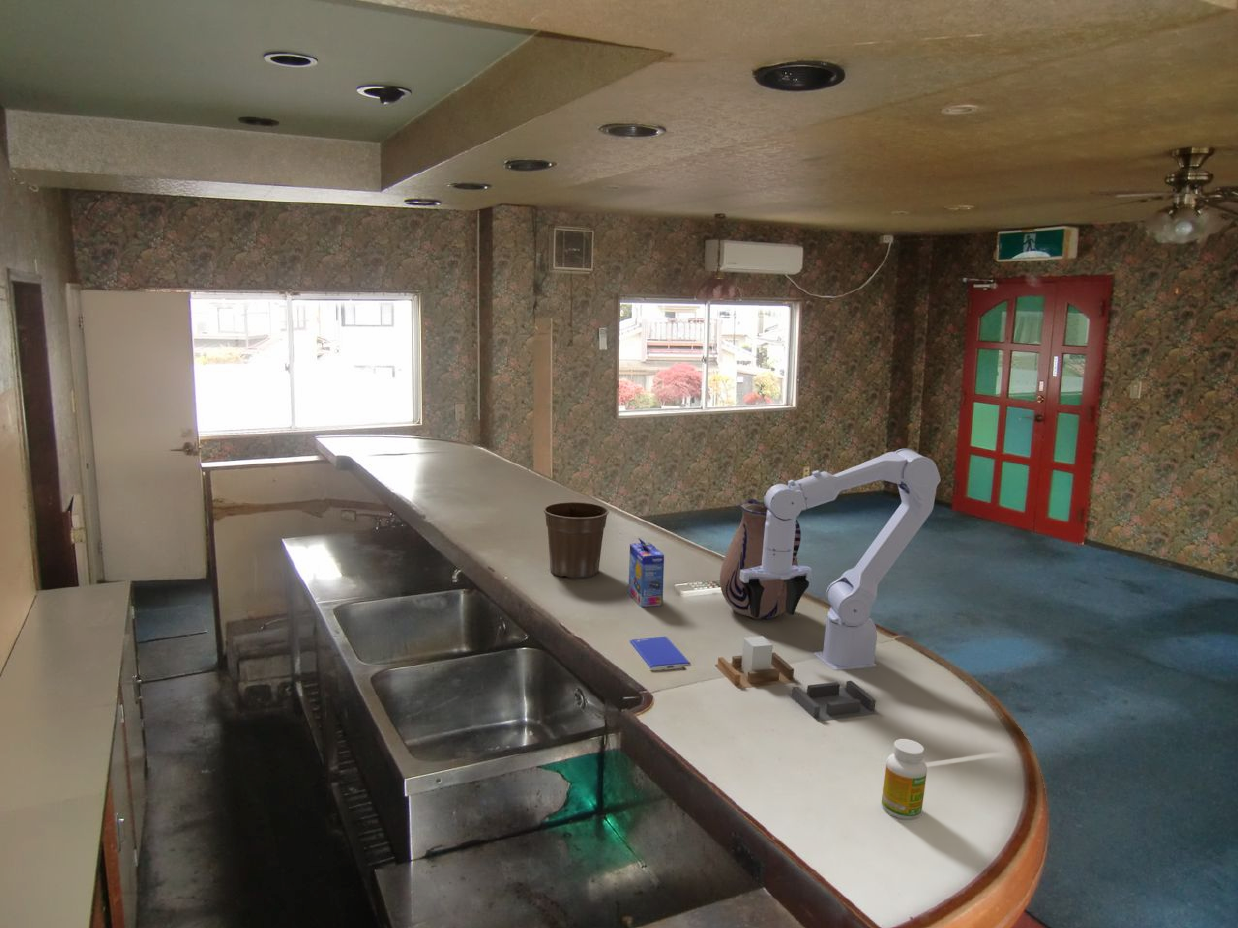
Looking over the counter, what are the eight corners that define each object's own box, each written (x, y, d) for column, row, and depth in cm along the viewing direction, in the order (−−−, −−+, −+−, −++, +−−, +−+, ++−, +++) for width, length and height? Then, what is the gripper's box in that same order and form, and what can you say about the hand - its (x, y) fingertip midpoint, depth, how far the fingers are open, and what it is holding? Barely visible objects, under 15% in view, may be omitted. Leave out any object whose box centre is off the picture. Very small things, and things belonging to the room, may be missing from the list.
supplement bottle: (911, 825, 115) (920, 760, 113) (874, 808, 119) (882, 745, 117) (927, 809, 119) (935, 746, 117) (891, 793, 123) (898, 731, 121)
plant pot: (529, 566, 214) (531, 505, 211) (583, 557, 223) (585, 498, 220) (563, 586, 201) (565, 520, 198) (618, 576, 210) (621, 513, 207)
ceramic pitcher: (758, 593, 203) (767, 492, 198) (824, 624, 186) (835, 514, 181) (701, 605, 193) (709, 499, 188) (764, 638, 176) (775, 523, 171)
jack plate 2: (846, 690, 155) (847, 677, 154) (878, 716, 145) (880, 703, 145) (787, 696, 151) (789, 683, 150) (817, 724, 141) (818, 710, 141)
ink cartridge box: (626, 592, 199) (629, 533, 196) (648, 591, 201) (651, 532, 198) (640, 607, 190) (643, 546, 187) (663, 606, 192) (667, 544, 189)
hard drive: (629, 639, 170) (650, 665, 158) (667, 636, 172) (690, 661, 161) (629, 646, 170) (649, 673, 159) (666, 643, 173) (690, 669, 161)
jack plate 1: (770, 661, 165) (771, 649, 165) (796, 684, 156) (797, 671, 155) (714, 667, 161) (715, 654, 161) (737, 690, 152) (738, 678, 151)
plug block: (760, 668, 161) (762, 636, 159) (769, 677, 157) (772, 644, 156) (740, 670, 159) (743, 637, 158) (750, 679, 156) (753, 646, 154)
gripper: (753, 555, 155) (747, 624, 158) (822, 551, 160) (815, 619, 163) (737, 544, 162) (731, 611, 165) (803, 541, 166) (797, 606, 169)
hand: (772, 614), depth 164 cm, fingers open, 7 cm apart
